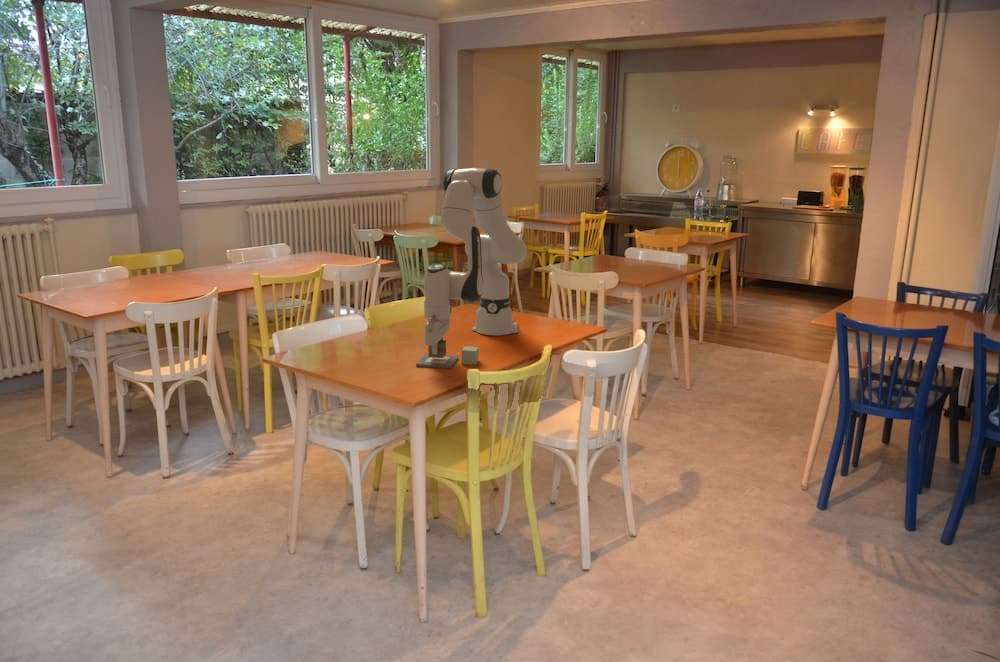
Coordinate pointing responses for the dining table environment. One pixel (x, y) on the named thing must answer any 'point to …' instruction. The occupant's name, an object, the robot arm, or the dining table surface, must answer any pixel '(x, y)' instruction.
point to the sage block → (470, 355)
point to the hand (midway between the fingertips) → (437, 351)
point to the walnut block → (439, 350)
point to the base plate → (437, 361)
